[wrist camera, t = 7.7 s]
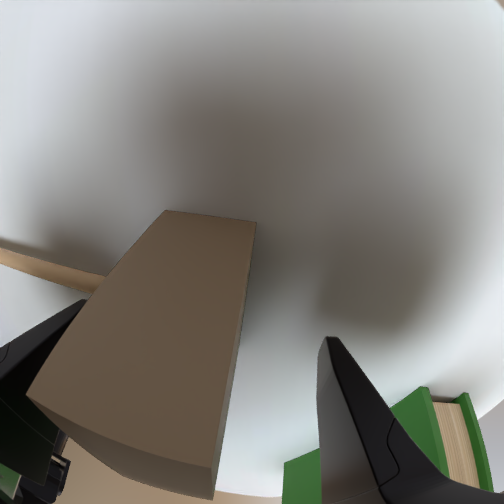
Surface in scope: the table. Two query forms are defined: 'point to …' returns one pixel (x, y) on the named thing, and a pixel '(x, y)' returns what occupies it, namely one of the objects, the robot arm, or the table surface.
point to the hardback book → (424, 435)
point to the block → (152, 351)
